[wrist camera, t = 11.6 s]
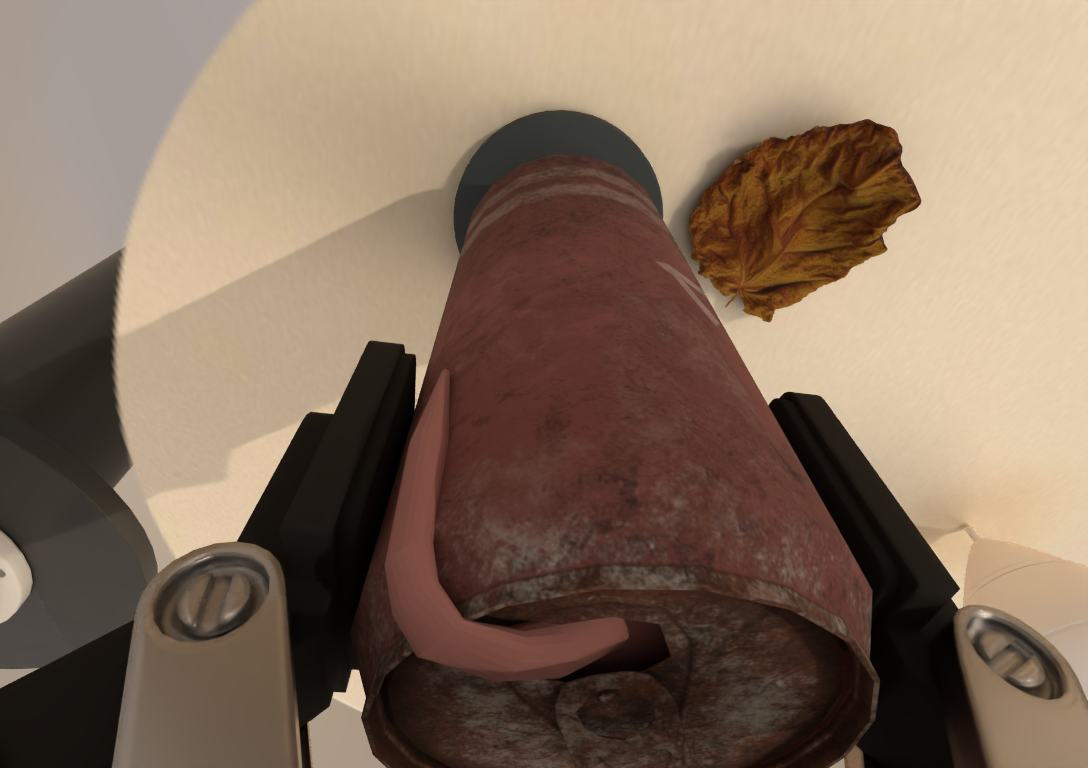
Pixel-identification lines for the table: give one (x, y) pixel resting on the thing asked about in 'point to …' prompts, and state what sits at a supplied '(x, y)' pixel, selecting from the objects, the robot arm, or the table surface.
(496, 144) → the coaster
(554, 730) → the can
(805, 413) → the robot arm
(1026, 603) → the spinning top
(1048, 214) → the table surface
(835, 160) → the leaf
